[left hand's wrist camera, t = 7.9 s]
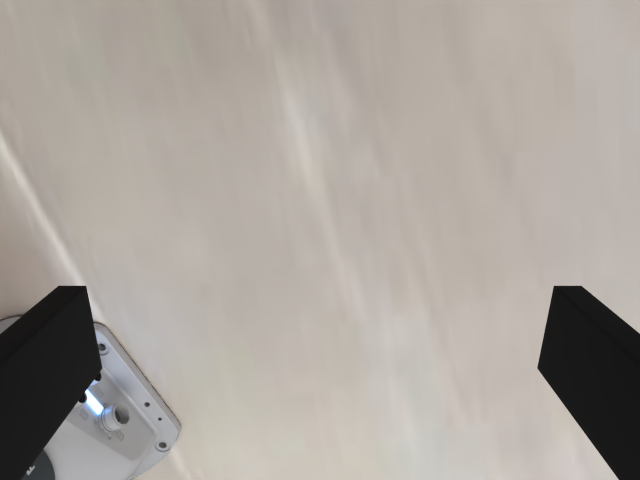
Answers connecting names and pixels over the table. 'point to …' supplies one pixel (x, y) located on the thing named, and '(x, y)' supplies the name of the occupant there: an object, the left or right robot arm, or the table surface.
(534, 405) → the table surface
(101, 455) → the right robot arm
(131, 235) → the table surface
